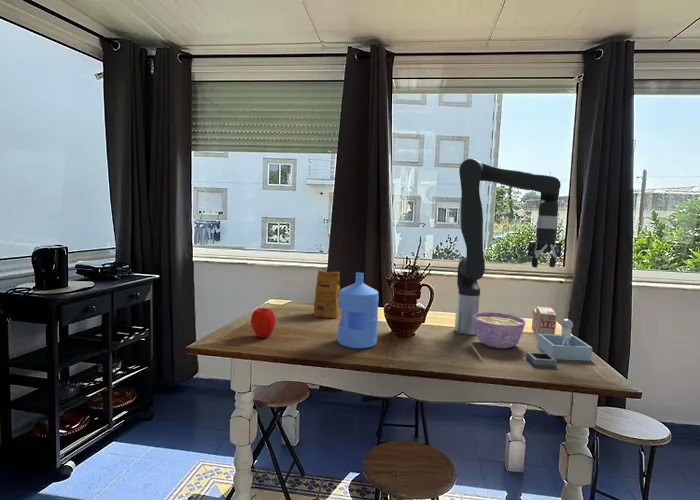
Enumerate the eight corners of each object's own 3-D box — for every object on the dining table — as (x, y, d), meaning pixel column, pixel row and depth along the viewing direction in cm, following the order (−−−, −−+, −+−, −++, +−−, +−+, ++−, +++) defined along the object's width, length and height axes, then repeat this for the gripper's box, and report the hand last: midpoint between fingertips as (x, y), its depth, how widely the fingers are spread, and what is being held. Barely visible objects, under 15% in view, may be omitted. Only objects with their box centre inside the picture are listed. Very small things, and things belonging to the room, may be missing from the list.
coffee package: (317, 311, 216) (318, 268, 213) (341, 314, 213) (343, 270, 210) (310, 316, 206) (312, 271, 204) (335, 319, 203) (337, 273, 201)
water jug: (356, 334, 182) (359, 268, 179) (384, 343, 171) (388, 274, 168) (329, 341, 171) (331, 271, 168) (357, 352, 160) (360, 278, 157)
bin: (551, 361, 158) (553, 345, 158) (537, 348, 172) (538, 333, 171) (590, 363, 158) (592, 347, 157) (572, 350, 172) (574, 335, 171)
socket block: (531, 370, 149) (532, 360, 148) (521, 359, 159) (522, 350, 158) (561, 371, 148) (562, 362, 148) (549, 361, 158) (549, 352, 158)
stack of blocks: (531, 327, 203) (533, 301, 201) (545, 329, 201) (548, 303, 200) (538, 341, 182) (540, 312, 181) (554, 343, 181) (556, 314, 179)
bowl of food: (465, 337, 183) (467, 310, 182) (513, 339, 182) (515, 313, 181) (478, 354, 163) (480, 324, 162) (531, 356, 163) (534, 326, 161)
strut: (555, 352, 165) (558, 318, 163) (562, 351, 167) (565, 317, 166) (566, 356, 161) (569, 321, 160) (573, 354, 164) (576, 320, 162)
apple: (245, 336, 173) (245, 306, 172) (265, 331, 181) (266, 303, 179) (259, 342, 167) (260, 311, 165) (280, 337, 174) (280, 307, 172)
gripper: (554, 226, 178) (550, 265, 180) (525, 226, 174) (522, 265, 176) (568, 228, 171) (564, 268, 173) (538, 227, 167) (535, 268, 169)
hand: (543, 267), depth 174 cm, fingers open, 8 cm apart
